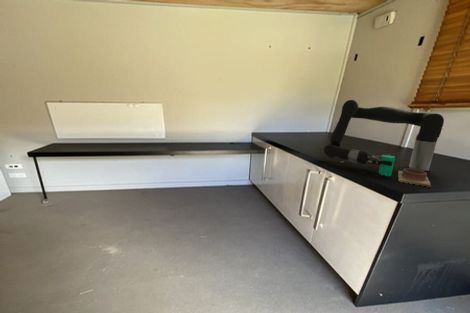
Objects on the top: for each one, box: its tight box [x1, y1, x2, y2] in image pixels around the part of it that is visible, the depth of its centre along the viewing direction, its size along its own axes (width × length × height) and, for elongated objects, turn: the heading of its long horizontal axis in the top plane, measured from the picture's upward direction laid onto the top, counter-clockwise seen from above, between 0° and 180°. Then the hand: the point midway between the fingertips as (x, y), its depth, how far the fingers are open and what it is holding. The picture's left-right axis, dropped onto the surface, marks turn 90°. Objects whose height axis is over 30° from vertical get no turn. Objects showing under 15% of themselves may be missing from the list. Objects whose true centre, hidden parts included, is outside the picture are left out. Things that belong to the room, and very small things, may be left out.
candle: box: [378, 154, 396, 177], centre depth 112 cm, size 6×6×12 cm
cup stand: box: [397, 167, 432, 188], centre depth 106 cm, size 18×12×4 cm, turn 142°
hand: (393, 162), depth 110 cm, fingers closed on candle, 5 cm apart
